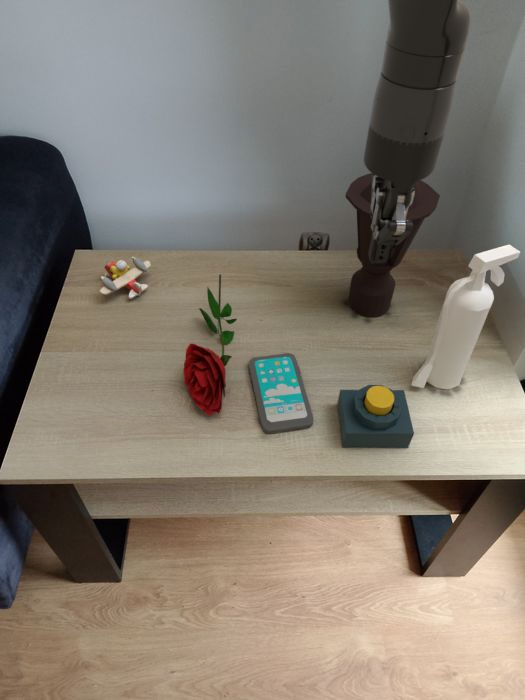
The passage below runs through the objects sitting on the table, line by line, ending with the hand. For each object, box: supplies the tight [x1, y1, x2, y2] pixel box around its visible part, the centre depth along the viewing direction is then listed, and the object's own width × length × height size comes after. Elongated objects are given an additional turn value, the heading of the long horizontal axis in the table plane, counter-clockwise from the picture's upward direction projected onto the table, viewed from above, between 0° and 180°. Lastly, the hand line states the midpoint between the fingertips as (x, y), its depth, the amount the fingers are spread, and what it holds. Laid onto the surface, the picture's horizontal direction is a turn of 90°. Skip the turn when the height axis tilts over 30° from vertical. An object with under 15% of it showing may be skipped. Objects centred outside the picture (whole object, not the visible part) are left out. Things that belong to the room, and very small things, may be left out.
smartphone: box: [248, 352, 314, 434], centre depth 83 cm, size 9×1×15 cm
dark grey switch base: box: [336, 384, 415, 449], centre depth 77 cm, size 10×8×6 cm
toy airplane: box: [99, 256, 151, 300], centre depth 98 cm, size 9×9×6 cm
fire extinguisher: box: [411, 244, 521, 391], centre depth 77 cm, size 7×12×25 cm, turn 116°
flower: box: [182, 273, 237, 417], centre depth 87 cm, size 9×10×30 cm
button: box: [364, 385, 394, 416], centre depth 75 cm, size 4×4×2 cm
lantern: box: [345, 172, 441, 319], centre depth 87 cm, size 15×15×30 cm
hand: (377, 259), depth 64 cm, fingers closed
